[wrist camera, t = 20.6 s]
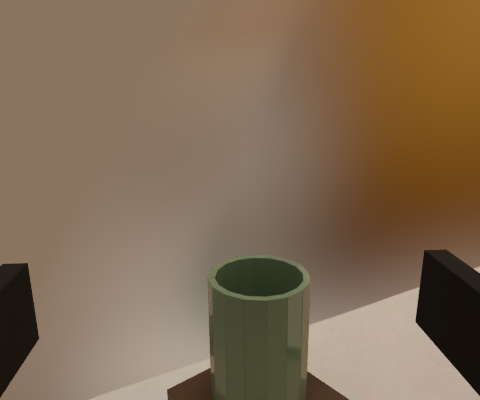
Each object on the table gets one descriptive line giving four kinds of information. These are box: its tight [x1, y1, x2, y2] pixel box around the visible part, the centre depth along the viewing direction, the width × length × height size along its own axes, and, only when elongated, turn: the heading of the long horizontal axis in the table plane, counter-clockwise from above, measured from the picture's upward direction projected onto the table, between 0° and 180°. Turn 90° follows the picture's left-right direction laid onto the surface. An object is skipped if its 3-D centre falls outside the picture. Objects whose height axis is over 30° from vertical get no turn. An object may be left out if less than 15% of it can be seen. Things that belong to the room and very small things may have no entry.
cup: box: [208, 255, 310, 400], centre depth 31 cm, size 7×7×10 cm
